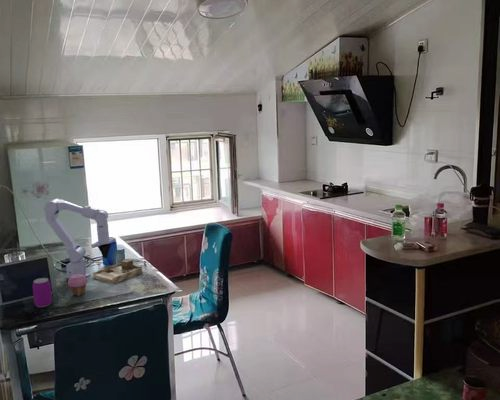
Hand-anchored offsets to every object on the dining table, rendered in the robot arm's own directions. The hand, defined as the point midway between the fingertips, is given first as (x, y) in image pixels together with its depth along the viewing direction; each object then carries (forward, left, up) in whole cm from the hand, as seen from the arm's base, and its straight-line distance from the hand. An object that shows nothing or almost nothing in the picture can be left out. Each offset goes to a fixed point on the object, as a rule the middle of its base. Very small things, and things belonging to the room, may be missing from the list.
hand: (105, 257), depth 269 cm
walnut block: (+10, -6, -8) cm, 14 cm away
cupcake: (-25, -11, -10) cm, 29 cm away
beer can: (+12, +11, -10) cm, 19 cm away
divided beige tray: (+3, -6, -10) cm, 12 cm away
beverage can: (-42, -8, -10) cm, 44 cm away
